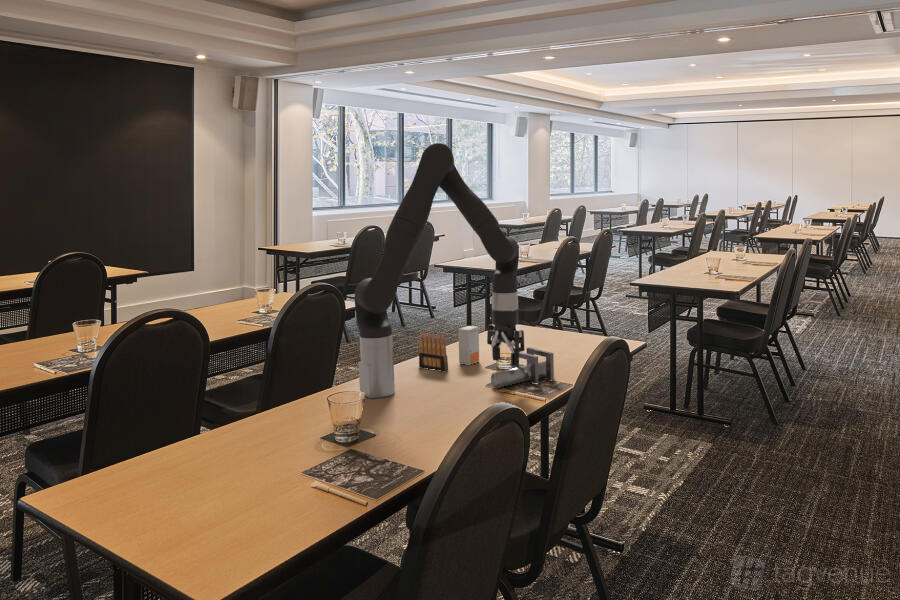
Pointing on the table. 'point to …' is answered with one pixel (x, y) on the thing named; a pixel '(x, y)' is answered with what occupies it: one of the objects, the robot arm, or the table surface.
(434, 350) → the ammunition clip
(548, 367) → the dark grey rectangular frame
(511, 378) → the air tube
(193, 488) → the table surface
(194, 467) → the table surface
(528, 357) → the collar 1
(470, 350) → the skincare box
